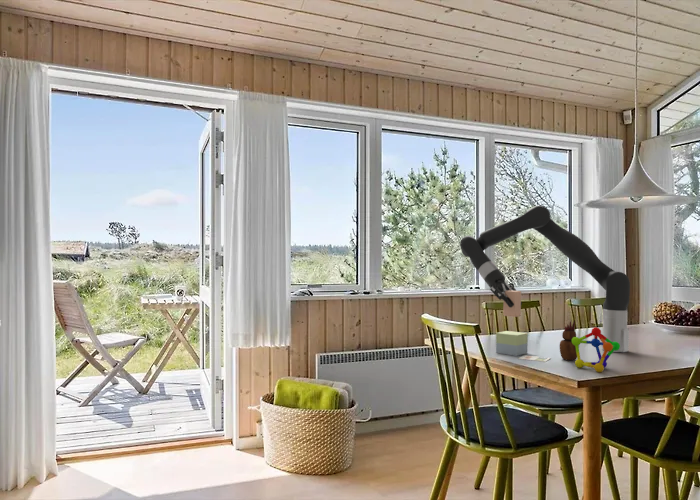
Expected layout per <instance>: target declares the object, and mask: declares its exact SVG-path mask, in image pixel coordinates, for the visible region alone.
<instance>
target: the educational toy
mask: <svg viewBox="0 0 700 500" xmlns="http://www.w3.org/2000/svg"><path fill="white" fill-rule="evenodd" d="M591 336H594V338H592V339H591V340H586V339H588V338H589V337H591ZM606 341H607V342H606ZM572 344H573V345H575V347H576V353H577V358H576V360H574V365H575V367H577V368H578V369H581V368H583V367H587V368H590V369H591V368H592V369H594V371H596V373H602V372H604V369H605V368H606V367H607V364H608V362H607V361H608V359H609V357H611V355H612V354H613V353H614V352H613V351H617V350H619V348H620V344H619V343H618V342H611V341H610V340H609V339H607V338H606V337H605V336H604V335H603V333H602V330H601V328H599V327H597V326H596V327H593V328H592V329H591V332H589V333H587V334H584V335H583V336H581V337H578V336H576V337H574V338H572ZM580 344H587V345H588V344H589V345H591V346H592V347H594V348H595V349H596V354H597V356H598V360H597V361H596V362H595V361H594V362H593V361H589V362H588V361H584V360H583V359H581V355H580V348H579V347H580ZM578 345H579V346H578ZM602 345H603V346H602ZM600 346H602V350H603V349H604V350H603V353H602V352H601V350H600V348H599V347H600ZM601 353H602V354H601Z"/></svg>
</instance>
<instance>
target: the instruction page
mask: <svg viewBox="0 0 700 500" xmlns="http://www.w3.org/2000/svg"><path fill="white" fill-rule="evenodd" d="M551 359H552V358H551V357H545V356H543V357H542V356H536V355H526V354H523V355H522V356H520V357H518V360H525V361H526V360H527V361H534V362H543V363H546V362H548V361H550V360H551Z"/></svg>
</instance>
